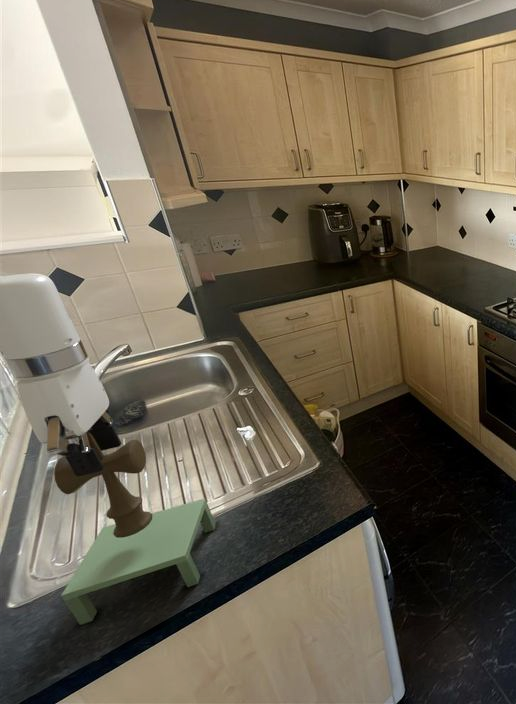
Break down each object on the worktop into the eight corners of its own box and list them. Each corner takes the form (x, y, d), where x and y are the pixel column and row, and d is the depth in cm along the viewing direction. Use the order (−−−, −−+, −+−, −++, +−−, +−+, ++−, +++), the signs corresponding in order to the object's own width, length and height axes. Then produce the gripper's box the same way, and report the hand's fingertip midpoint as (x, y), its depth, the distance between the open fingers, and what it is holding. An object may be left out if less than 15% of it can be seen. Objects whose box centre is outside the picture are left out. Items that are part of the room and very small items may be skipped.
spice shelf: (79, 625, 65) (60, 595, 63) (117, 554, 77) (102, 527, 75) (198, 583, 71) (184, 555, 69) (215, 524, 83) (205, 498, 81)
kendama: (105, 526, 71) (54, 432, 64) (173, 504, 75) (132, 413, 68) (91, 553, 66) (34, 454, 59) (165, 528, 70) (120, 432, 63)
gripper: (49, 343, 65) (96, 436, 71) (-31, 394, 50) (37, 506, 57) (109, 334, 67) (148, 424, 74) (50, 380, 53) (106, 488, 59)
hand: (100, 458), depth 65 cm, fingers closed on kendama, 5 cm apart
